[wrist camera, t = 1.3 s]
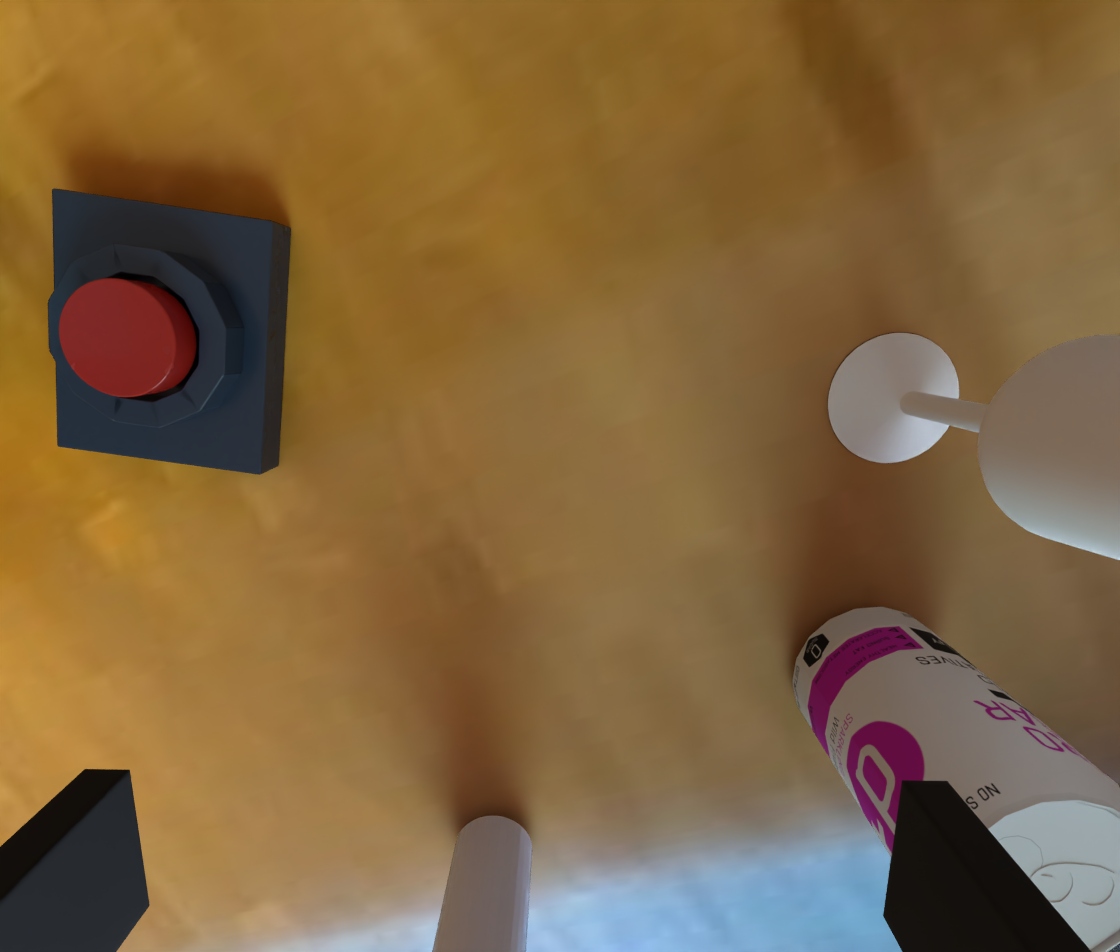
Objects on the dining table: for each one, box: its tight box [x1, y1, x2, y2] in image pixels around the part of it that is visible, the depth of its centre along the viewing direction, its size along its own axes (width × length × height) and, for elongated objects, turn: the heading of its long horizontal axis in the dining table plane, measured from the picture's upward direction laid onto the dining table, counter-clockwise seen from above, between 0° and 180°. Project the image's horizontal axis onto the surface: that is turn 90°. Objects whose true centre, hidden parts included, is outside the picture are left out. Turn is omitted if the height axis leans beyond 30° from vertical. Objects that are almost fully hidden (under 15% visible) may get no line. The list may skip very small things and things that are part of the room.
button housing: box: [48, 188, 291, 475], centre depth 32 cm, size 12×10×4 cm
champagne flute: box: [828, 333, 1120, 560], centre depth 22 cm, size 7×7×24 cm
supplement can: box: [792, 607, 1120, 952], centre depth 30 cm, size 8×8×15 cm
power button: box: [59, 278, 197, 397], centre depth 29 cm, size 5×5×2 cm
